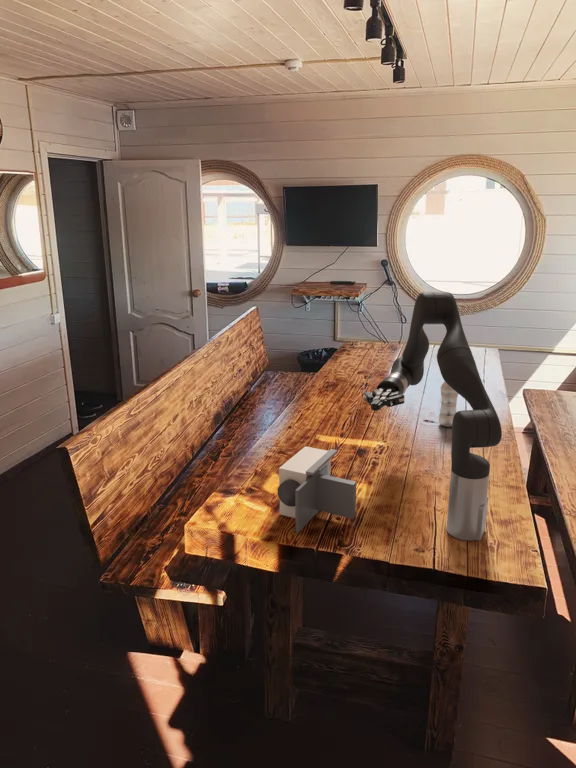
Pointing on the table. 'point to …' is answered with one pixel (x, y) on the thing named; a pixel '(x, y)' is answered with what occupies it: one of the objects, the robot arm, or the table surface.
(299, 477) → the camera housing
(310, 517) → the side door
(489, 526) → the table surface
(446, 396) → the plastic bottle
